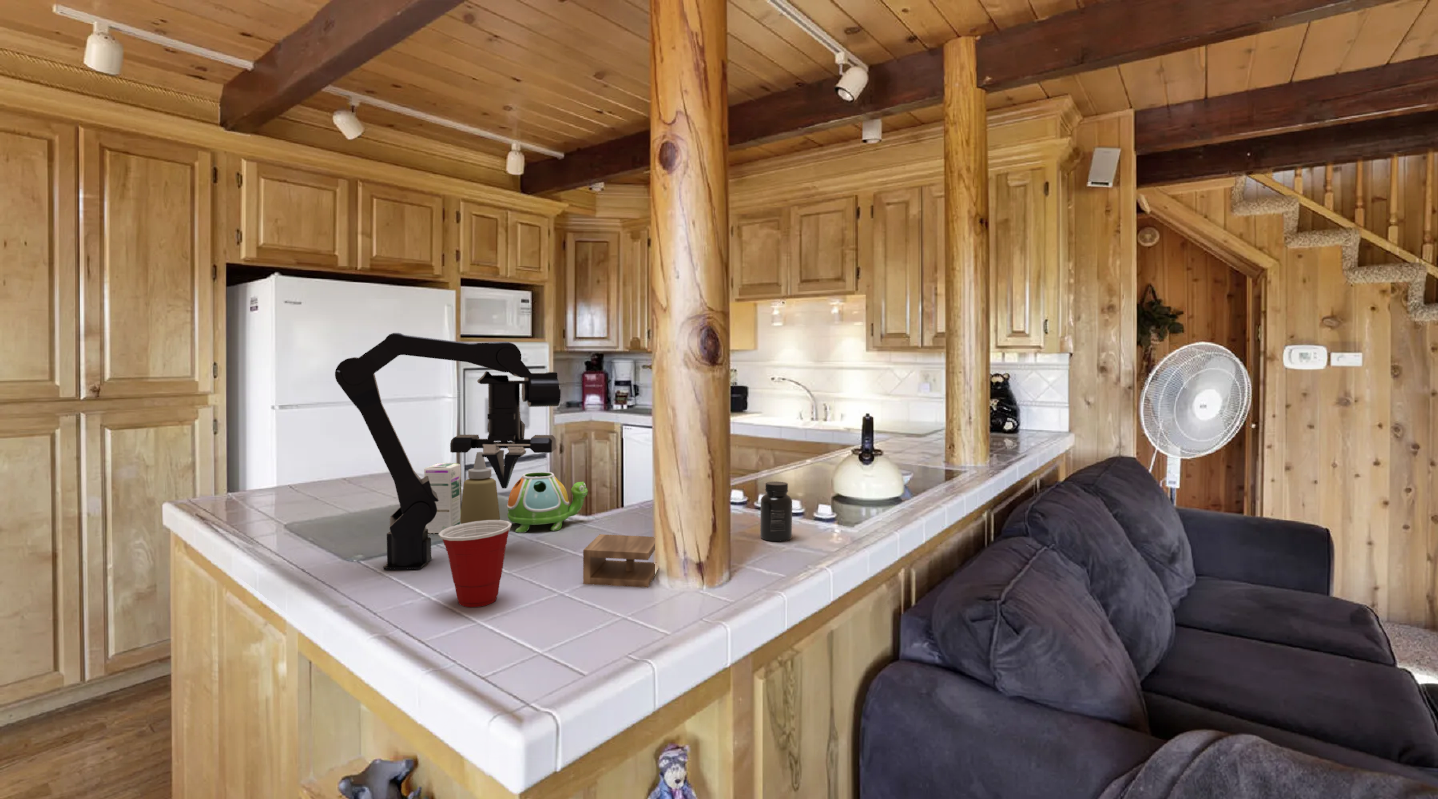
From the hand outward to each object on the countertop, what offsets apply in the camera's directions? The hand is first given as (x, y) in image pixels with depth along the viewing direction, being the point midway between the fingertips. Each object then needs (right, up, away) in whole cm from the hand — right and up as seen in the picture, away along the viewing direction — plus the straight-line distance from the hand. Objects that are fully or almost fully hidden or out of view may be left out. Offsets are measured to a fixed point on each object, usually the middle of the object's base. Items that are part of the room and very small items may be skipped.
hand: (504, 488), depth 130 cm
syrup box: (-19, -12, +17) cm, 28 cm away
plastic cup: (+3, -15, -23) cm, 28 cm away
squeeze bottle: (-9, -12, +13) cm, 20 cm away
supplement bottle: (+54, -13, +16) cm, 57 cm away
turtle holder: (+2, -12, +23) cm, 26 cm away
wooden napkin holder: (+19, -11, -10) cm, 24 cm away
